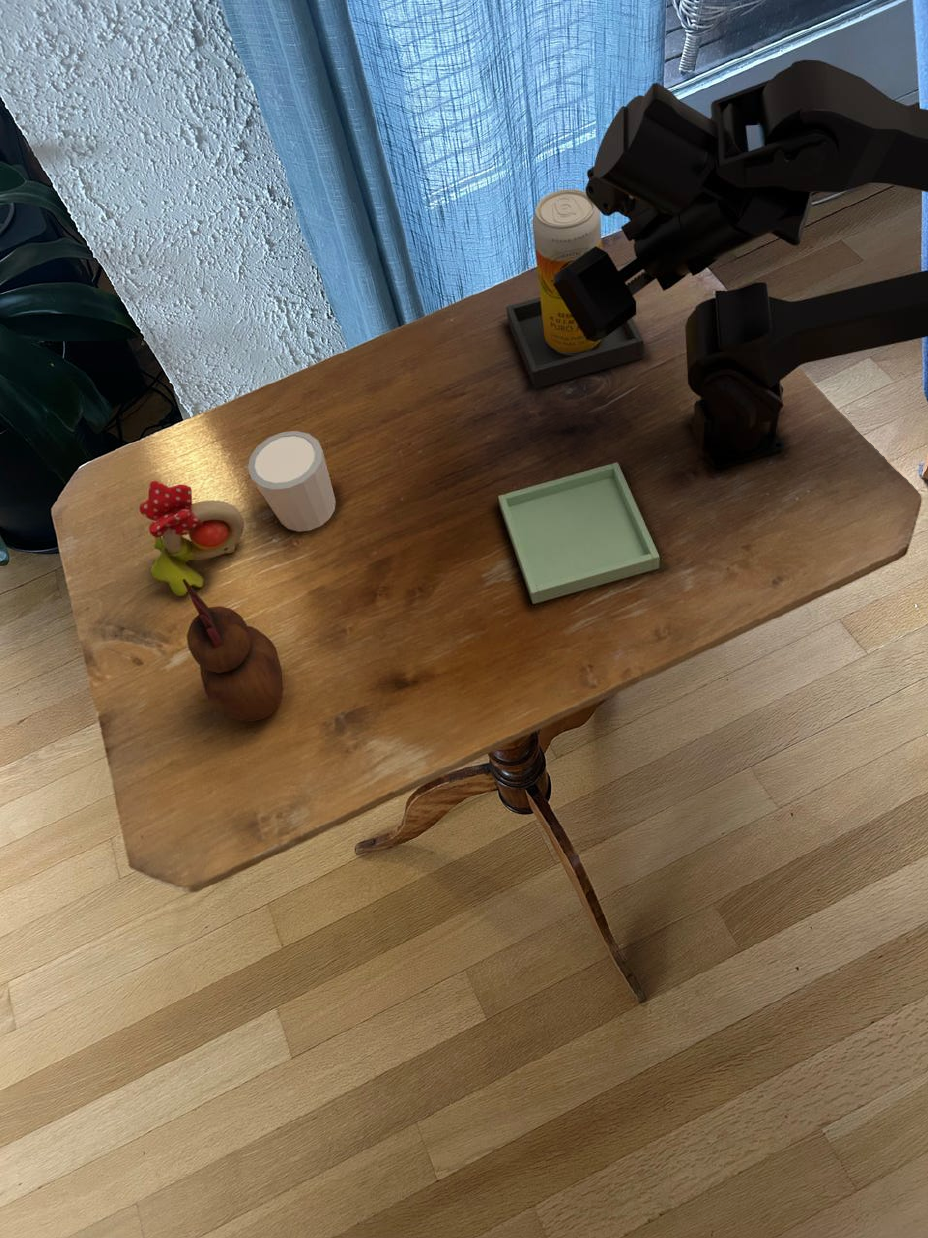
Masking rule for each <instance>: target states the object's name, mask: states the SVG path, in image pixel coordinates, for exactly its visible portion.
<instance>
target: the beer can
mask: <svg viewBox="0 0 928 1238" xmlns="http://www.w3.org/2000/svg"><path fill="white" fill-rule="evenodd" d="M601 217H602V216H601V212H600V210H599V209H598V208H597V207H596V206H595V205H594V204H593V203H592V202H591V201H590V200H589V198H588V197H587V195H586V191H585V190H584V191H583V190H582V189H581V190H580V189H575V188H564V189H560V190H556V191H555V190H554V191H553V192H550V193H548V194H546V195H545V196H543V197H542V198H541V199H540V200H539V201H538V203H537V204H536V206H535V212H534V215H533V216H532V223H531V224H532V231H533V243H534V250H535V251H534V252H535V259H536V260H535V261H536V271H537V279H538V288H539V297H540V299H541V308H542V318H543V327H544V336H545V340H546V342H547V343H548V344H549V345H550V346H551V347H552V348H554V349H555V350H556V351H557V352H559V353H561V354H565V355H579V354H583V353H586V352H589V351H590V350H592V349H593V348H594V347H595V346H596V345H597V344H598V343H599V342H600V341H601V340H602V339H600V340H598V341H596V342H594V341H590V340H587V339H586V338H585V336H584V334H583V333H582V331H581V329H580V328H579V326H578V324H577V323H576V321H575V320H574V318H573V316H572V315H571V313H570V311H569V310H568V308H567V306H566V305H565V303H564V302H563V300H562V298H561V297H560V295H559V293H558V292H557V290H556V288H555V287H554V285H553V281H554V275H555V274H556V273H557V272H559V271H560V270H562V269H563V268H565V267H566V266H567V265H569V264H570V263H572V262H573V261H574V260H576V259H577V258H579V257H580V256H582V255H583V254H585V253H586V252H587V251H589V250H590V249H592V248H593V247H595V246H596V247H598V248H600V249H602V250H603V245H602V244H603V242H602V241H603V240H602V220H601V219H602V218H601Z"/></svg>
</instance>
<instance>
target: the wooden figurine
mask: <svg viewBox="0 0 928 1238" xmlns="http://www.w3.org/2000/svg"><path fill="white" fill-rule="evenodd" d="M183 583H184V585H185V586H186V588H187V590H188V591H187V593H188V594H189V596H190V599H191V602H192V604H193V606H194V608H195V609H196V611H197V612H198V614H197V615H196V617H194V618H193V619H192V621H191V622H190V624H189V627H188V630H187V635H186V640H187V647H188V650H189V651H190V654H191V656H192V658H193V659H194V660H195V662H196V663H197V664H198V665H199V669H200V671H199V673H200V678H201V682H202V685H203V690H204V692H205V694H206V696H207V698H208V699H209V700H208V701H210V702H211V704H213V705H214V706H215V707H216V708H217V709H219V710H220V711H221V712H223V713H224V714H226V715H227V716H228V717H231V718H233V719H236V720H241V721H247V722H252V721H259V720H263V719H265V718H266V717H269V716H271V715H272V714H273V712H275V711H276V710H277V709H278V707H279V705H280V703H281V701H282V698H283V693H284V682H283V671H282V666H281V662H280V658H279V655H278V654H279V653H278V651H277V648H276V646H275V644H274V643H273V641H272V640H271V639H270V638H269V637H267V636H266V635H265V634H264V633H262V632H261V631H260V630H259V629H257V628H255V627H253V626H252V625H251V626H250V625H247V623H246V621H245V619H244V618H243V617H242V615H240V614H239V613H238V612H236V611H235V610H233V609H231V608H229V607H225V606H221V605H219V606H211V607H208V605H207V604H206V602H204V600H203V599H202V598H201V597H200V596H199V594H198V592H196V590H195V589H194V588H193V587H192V586H190V585H189V584H188V582H187V581H186V580H185V579H183Z"/></svg>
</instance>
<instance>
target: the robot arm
mask: <svg viewBox="0 0 928 1238" xmlns="http://www.w3.org/2000/svg"><path fill="white" fill-rule="evenodd" d="M710 103H711V104H710V116H711V117H708V116H707V115H705V114H703V113H701V112H700V111H698V110H697V109H695V108H693V107H692V106H690V105H688V104H687V103H685V102H684V101H681V100H680V99H679V98H678V97H677V96H676V95H675V94H674V93H673V92H672V90H670V89H669V88H667V87H665V86H663V85H661V84H660V83H658V82H655V83H654V82H653V83H652V84H651V86H650V87H649V88H648V90H647V91H646V93H645V94H644V95H641V94H638V95H637V96H635V97H633V98H632V99H631V100H630V101H629V102H628V103H627V104H626V105H625V106H624V105H622V106H621V107H620V109H619V110H618V111H617V113H616V114H615V116H614V117H613V119H612V121H611V122H610V124H609V126H608V128H607V130H606V131H605V133H604V135H603V138H602V140H601V142H600V145H599V147H598V150H597V152H596V153H597V154H596V157H595V161H594V165H593V166H592V167H591V168H588V170H587V171H586V176H587V178H588V181H587V183H586V186H585V190H584V192H586V195H587V197H588V198H589V200H590V201H591V202H592V203H593V204H594V205H595V206H596V207H597V208H598V209H599V211H600V214H602V215H603V216H605V217H610V216H612V215H613V214H615V213H619V214H620V215H621V216H623V217H626V218H627V219H628V220H629V221H628V222H626V223H624V224H623V225H622V226H620V229H621V230H622V231H621V232H623V234H624V236H625V237H626V240H627V241H628V242H631V241H634V242H633V251H634V254H635V258H634V259H632V260H630V261H629V262H628V263H627V264H625V265H623V266H622V267H621V268H619V269H618V268H617V267H616V265H615V263H614V262H613V260H612V258H611V256H610V255H609V252H607V251H606V250H603V248H602V249H600V248H598V247H596V246H595V247H593V248H592V249H590V250H589V251H587V252H586V253H585V254H583V255H582V256H580V257H579V258H577V259H576V260H574V261H573V262H572V263H570V264H569V265H567V266H566V267H565V268H563V269H562V270H560V271H559V272H557V273H556V274H555V275H554V281H553V285H554V287H555V288H556V290H557V292H558V293H559V295H560V297H561V298H562V300H563V302H564V303H565V305H566V306H567V308H568V310H569V311H570V313H571V315H572V316H573V318H574V320H575V321H576V323H577V324H578V326H579V328H580V329H581V331H582V333H583V334H584V336H585V338H586V339H587V340H590V341H594V342H596V341H598V340H600V339H603V338H605V337H607V336H608V335H609V334H611V333H612V332H613V331H615V330H616V329H617V328H619V327H620V326H621V325H623V324H624V323H625V322H627V321H628V320H629V319H631V318H632V319H633V318H634V317H635V316H636V315H637V301H636V298H635V297H634V295H636V294H638V292H640V291H641V290H642V289H644V288H645V287H647V286H648V285H650V284H651V283H652V282H654V281H655V280H656V281H657V282H658V284H659V286H660V288H661V289H662V291H663V292H664V291H665V292H666V291H667V290H668V289H671V288H672V287H673V286H675V285H676V284H677V283H679V282H680V281H681V280H683V279H684V278H685V277H687V276H688V275H689V274H691V276H692V277H694V276H697V275H698V274H700V273H702V272H703V271H705V270H707V268H709V267H710V266H711V265H713V264H714V263H715V262H717V261H718V260H719V259H721V258H723V257H724V256H726V255H728V254H730V253H732V252H734V251H737V250H738V249H740V248H742V247H744V246H745V245H748V244H749V243H752V242H753V241H756V240H758V239H759V238H761V237H763V236H765V235H768V234H769V235H773V236H774V237H775V236H776V237H777V238H779V239H781V240H782V241H784V242H786V243H787V244H789V245H791V246H794V247H795V246H799V245H800V244H801V241H802V238H803V235H804V233H805V232H804V231H805V229H806V225H807V221H808V218H809V216H810V212H811V208H812V205H813V198H812V193H825V194H827V193H828V194H829V193H830V194H840V193H844V192H847V191H851V190H853V189H856V188H859V187H862V186H865V185H889V186H894V187H899V188H903V189H904V188H905V189H909V190H913V191H918V192H924V193H928V109H926V108H925V109H924V108H921V107H915V106H911V105H906V104H904V103H901V102H900V101H897V100H895V99H892V98H890V97H889V96H887V94H885V93H883V92H882V91H881V90H880V89H878V88H877V87H875V86H874V85H873V84H871V83H870V82H869V81H867V80H866V79H865V78H863V77H861V76H860V75H859V76H858V75H857V74H853V73H851V72H849V71H847V70H845V69H842V68H840V67H838V66H835V65H833V64H831V63H828V62H825V61H823V60H819V59H801V60H795V61H793V62H792V63H791V64H790V66H788V67H786V68H785V69H783V70H781V71H779V72H777V73H776V74H775V76H774V77H772V78H771V79H769V80H765V81H763V82H760V83H758V84H755V85H752V86H749V87H747V88H744V89H742V90H739V91H736V92H733V93H732V94H728V95H725V96H723V97H721V98H718V99H714V100H713V101H711V102H710ZM747 126H748V127H749V126H757V128H758V136H759V145H760V147H757V148H754V149H752V150H751V149H749V140H748V132H747ZM641 271H642V272H641ZM640 272H641V273H640ZM638 273H640V274H638ZM636 275H637V276H636ZM635 276H636V277H635ZM633 277H634V278H633ZM632 278H633V279H632ZM631 279H632V280H631ZM629 280H630V281H629ZM627 281H629V282H627ZM626 282H627V283H626ZM768 288H769V287H768V284H767V282H764V281H763V282H761V281H760V282H759V281H758V282H753V283H751V284H748V285H746V286H743V287H741V288H737V289H731V290H715V291H714V296H715V297H712V298H710V299H707V300H704V301H702V302H700V303H698V304H697V305H696V306H695V308H694V310H693V311H692V312H691V313H690V315H689V316H688V317H687V320H686V323H685V326H684V329H685V352H686V353H685V354H686V370H687V371H686V373H687V385H688V386H689V388H690V390H691V391H692V392H693V393H694V394H695V395H697V396H698V397H699V399H697V400H696V401H695V402H694V408H693V416H692V418H691V420H690V425H691V427H692V434H693V436H694V438H695V440H696V442H697V444H698V446H699V448H700V450H701V451H702V452H703V453H706V455H707V457H708V459H709V461H710V463H711V465H712V467H713V468H714V469H715V470H722V469H726V468H729V467H733V466H736V465H740V464H743V463H747V462H751V461H754V460H758V459H761V458H765V457H768V456H771V455H776V454H779V453H782V452H783V450H784V446H785V445H784V443H783V441H782V439H781V438H780V437H781V436H779V433H778V432H777V431H778V425H779V421H780V420H779V419H780V414H781V410H782V408H784V399H783V395H784V387H783V385H782V383H781V381H782V380H783V379H784V378H786V377H787V376H788V375H790V374H791V373H792V372H794V371H795V370H796V369H797V368H799V367H800V366H802V365H804V364H808V363H812V362H816V361H822V360H826V359H830V358H831V359H832V358H836V357H840V356H845V355H849V354H855V353H858V352H863V351H868V350H873V349H877V348H882V347H886V346H891V345H896V344H901V343H905V342H909V341H915V340H919V339H923V338H927V337H928V269H926V270H921V271H918V272H917V271H916V272H913V273H909V274H904V275H901V276H897V277H893V278H889V279H884V280H880V281H875V282H872V283H868V284H864V285H859V286H855V287H851V288H846V289H842V290H838V291H833V292H830V293H826V294H821V295H817V296H812V297H808V298H805V299H800V300H794V301H790V300H785V299H781V298H778V297H773V296H769V290H768Z"/></svg>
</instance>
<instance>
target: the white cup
mask: <svg viewBox="0 0 928 1238" xmlns="http://www.w3.org/2000/svg"><path fill="white" fill-rule="evenodd" d="M247 471H248V473H249V475H250V478H251V480H252V482H253V483H254V485H255V487H256V488H257V490H259V492H260V494H261V495H262V497H263V498H264V500H265V501H266V502H267V504H268V506H269V507H270V509H271V510H272V512H273V514H275V516H276V518H277V519H278V521H279V522H280V524H281V525H283V526H284V527H285V528H286V529H287V530H289V531H290V530H291V531H295V532H299V533H300V532H310V531H313V530H316V529H317V528H320V527H322V526H323V525H325V524H326V523H327V522H328V521H329V520H330V519H331V517H332V516H333V514H334V512H335V510H336V497H335V493H334V488H333V485H332V482H331V478H330V474H329V470H328V466H327V461H326V457H325V454H324V450H323V448H322V446H321V443H320V441H319V440H318V439H317V438H315V437H314V436H313V435H311V434H310V433H308V432H303V431H298V430H292V431H282V432H280V433H277V434H275V435H272V436H270V437H269V436H268V438H266V439H265V440H263V441H262V442H261V443H259V444H258V445H257V446H256V448H255V449H254V451H253V452H252V454H251V455H250V456H249V460H248V466H247Z"/></svg>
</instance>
